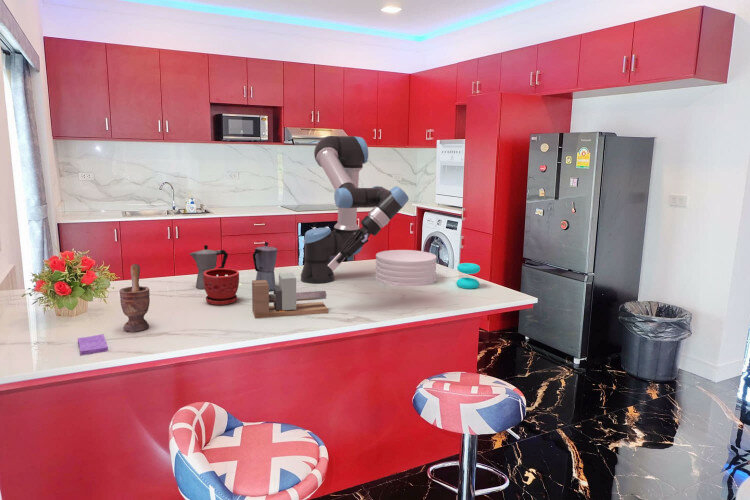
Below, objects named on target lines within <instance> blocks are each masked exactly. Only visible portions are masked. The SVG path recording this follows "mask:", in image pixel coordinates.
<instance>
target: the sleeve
mask: <svg viewBox="0 0 750 500" xmlns="http://www.w3.org/2000/svg"><path fill="white" fill-rule="evenodd" d="M278 286H279V287H280V289H281V290H282V310H295V309H296V304H297V301H296V293H297V277H296V276H295V275H294V273H293V272H290V273H289V272H287V273H278Z"/></svg>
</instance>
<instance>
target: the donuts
mask: <svg viewBox="0 0 750 500" xmlns="http://www.w3.org/2000/svg"><path fill="white" fill-rule="evenodd" d="M456 268H457V271H458V272H460V273H462V274H465V275H474V274H478V273H479V272H480V271H481V267H480V265H478V264H476V263H473V262H472V263H471V262H463V263H458V265H457V266H456ZM456 286H457V287H459V288H462V289H467V290H472V289H477V288H478V287H480V282H479V280H478V279H476V278H474V277H460V278H459V279H457V280H456Z"/></svg>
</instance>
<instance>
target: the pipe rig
mask: <svg viewBox="0 0 750 500" xmlns="http://www.w3.org/2000/svg"><path fill="white" fill-rule="evenodd" d="M251 295H252V296H251V297H252V298H251V299H252V302H251V303H252V308H251V309H252V314H253V316H254V319H265V318H277V317H278V318H279V317H291V316H303V315H304V316H305V315H316V314H317V315H318V314H328V312H329V308H328V307H327V305H326V304H325V303H324V302H323V301H321V302H307V303H306V302H305V303H304V302H303V301H314V300H315V301H316V300H327V292H326V290H317V291H301V292H296V302H299V301H300V302H301V301H302V302H303V303H296V309H295V310H276V309H275V306H274V302H276V294H274V293H272V294H271V293H270V291H269V284H268V283H267V281H266V280H256V279H255V280H251ZM271 303H273V304H272V305H270V304H271Z"/></svg>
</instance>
